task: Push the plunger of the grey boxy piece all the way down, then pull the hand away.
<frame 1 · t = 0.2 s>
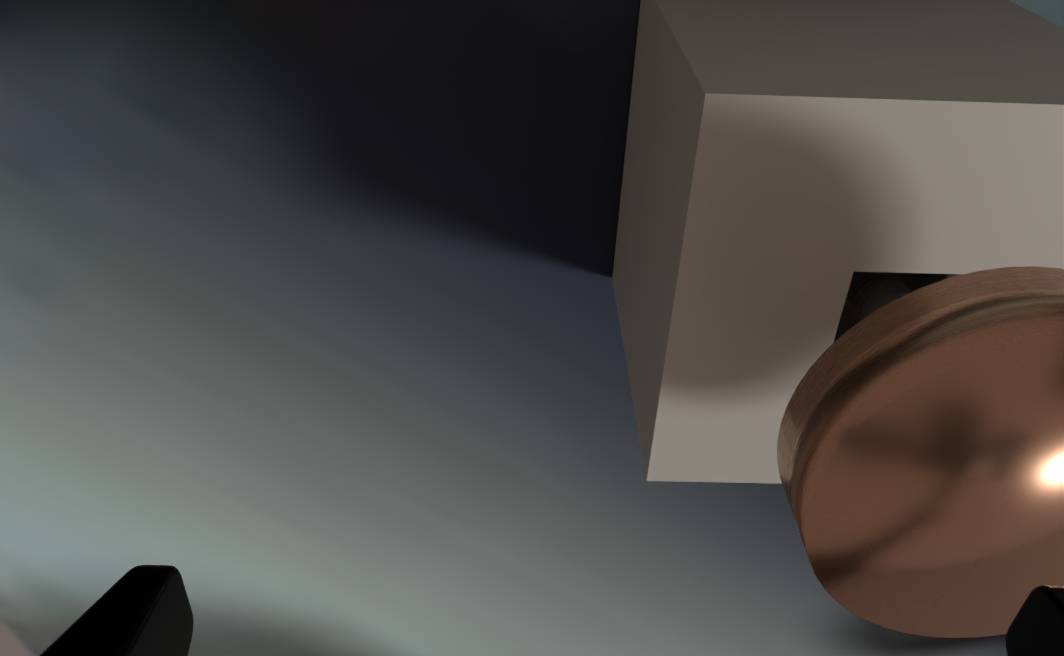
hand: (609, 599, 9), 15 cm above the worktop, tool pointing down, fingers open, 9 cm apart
plunger: (919, 358, 14), point 9 cm above the worktop, slide at 2.6 cm
grey boxy piece: (781, 148, 22), on the worktop
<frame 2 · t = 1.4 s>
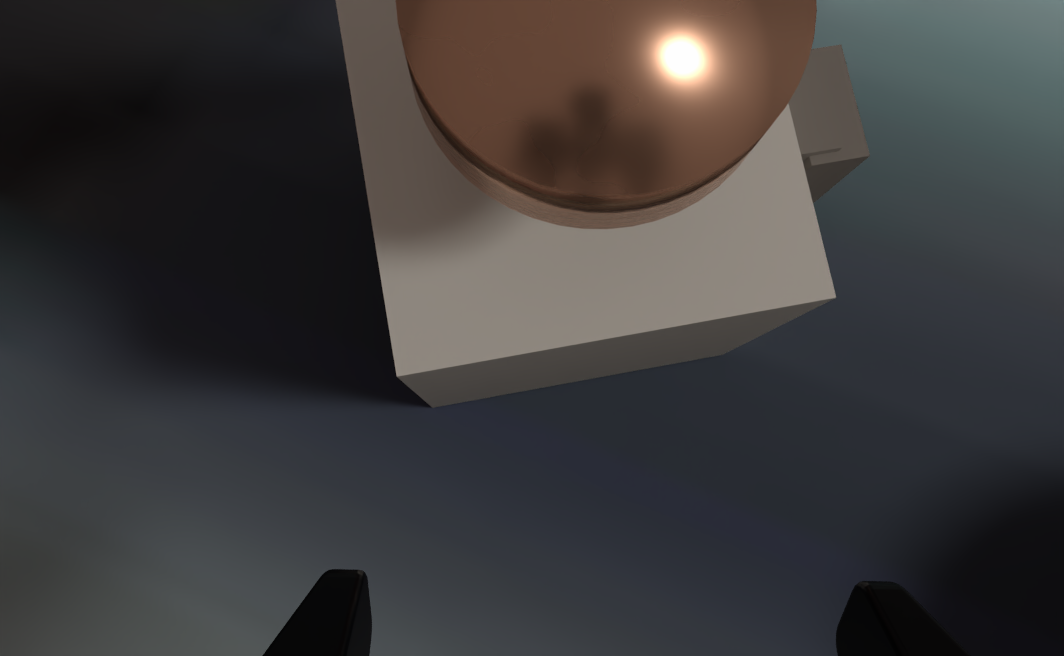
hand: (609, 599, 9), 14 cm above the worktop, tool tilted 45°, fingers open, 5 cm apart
plunger: (582, 100, 15), point 9 cm above the worktop, slide at 2.6 cm
grey boxy piece: (551, 239, 24), on the worktop
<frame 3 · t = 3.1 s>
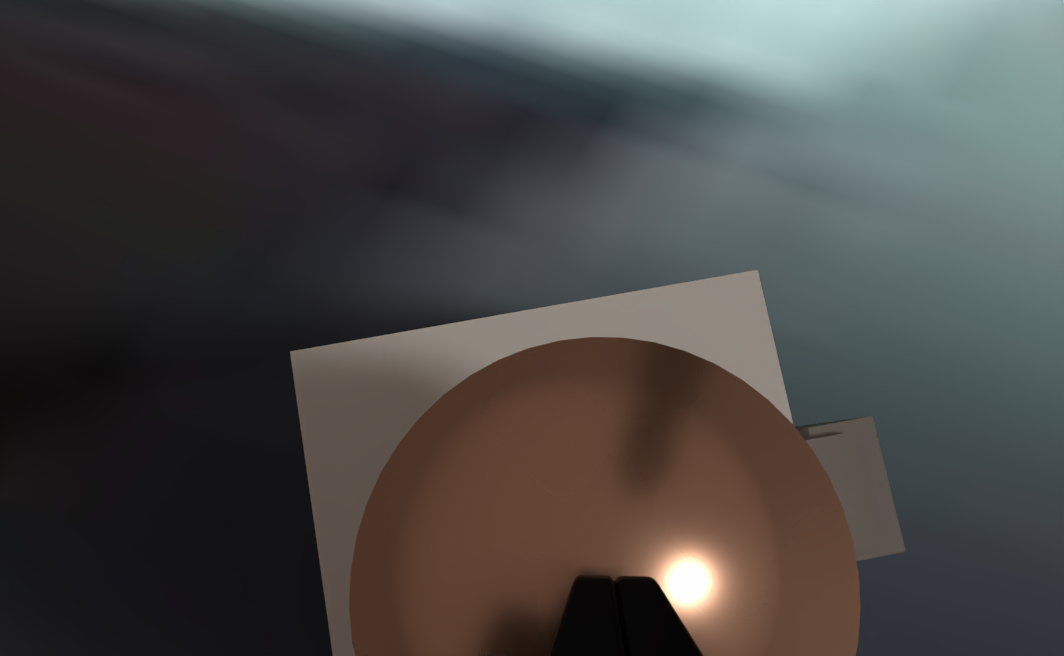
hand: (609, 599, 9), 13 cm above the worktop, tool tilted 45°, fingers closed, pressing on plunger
plunger: (578, 557, 13), point 9 cm above the worktop, slide at 2.5 cm, touching gripper
grey boxy piece: (546, 519, 22), on the worktop
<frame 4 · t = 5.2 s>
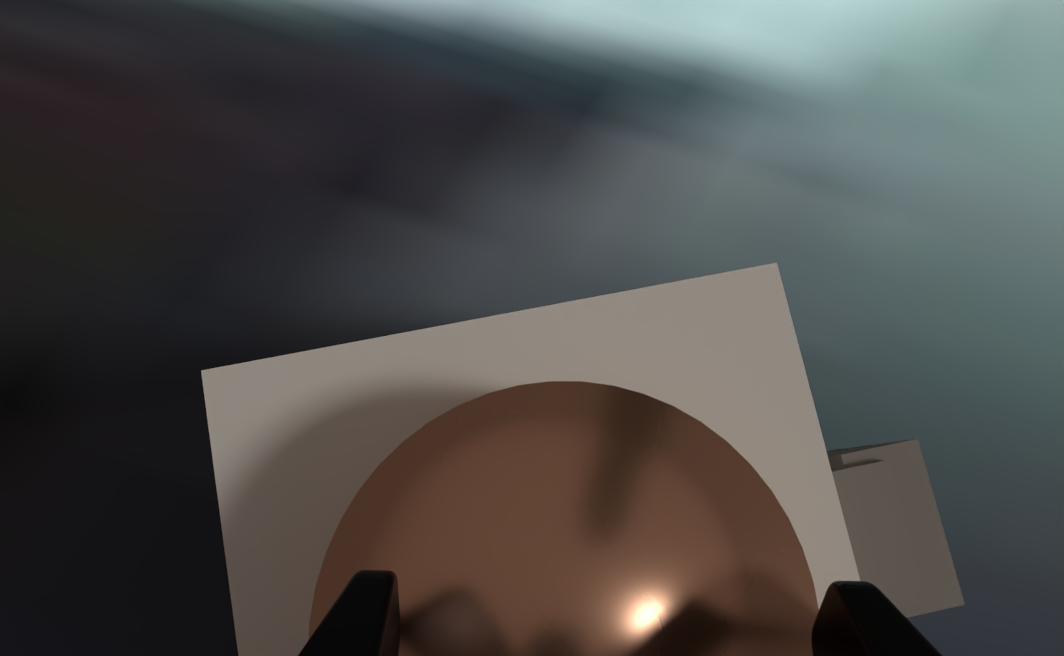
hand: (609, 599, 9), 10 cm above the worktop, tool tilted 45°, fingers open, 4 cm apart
plunger: (547, 598, 13), point 6 cm above the worktop, slide at -0.2 cm, touching gripper
grey boxy piece: (528, 564, 19), on the worktop
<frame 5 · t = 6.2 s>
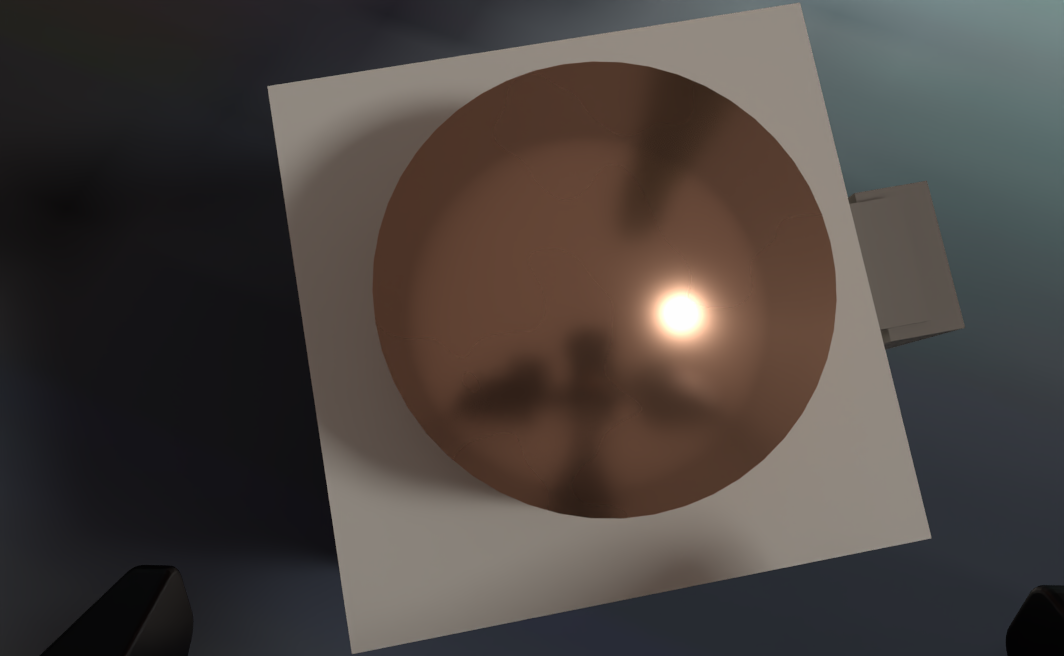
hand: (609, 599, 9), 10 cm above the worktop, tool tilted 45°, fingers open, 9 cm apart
plunger: (580, 323, 14), point 6 cm above the worktop, slide at -0.1 cm
grey boxy piece: (555, 365, 20), on the worktop
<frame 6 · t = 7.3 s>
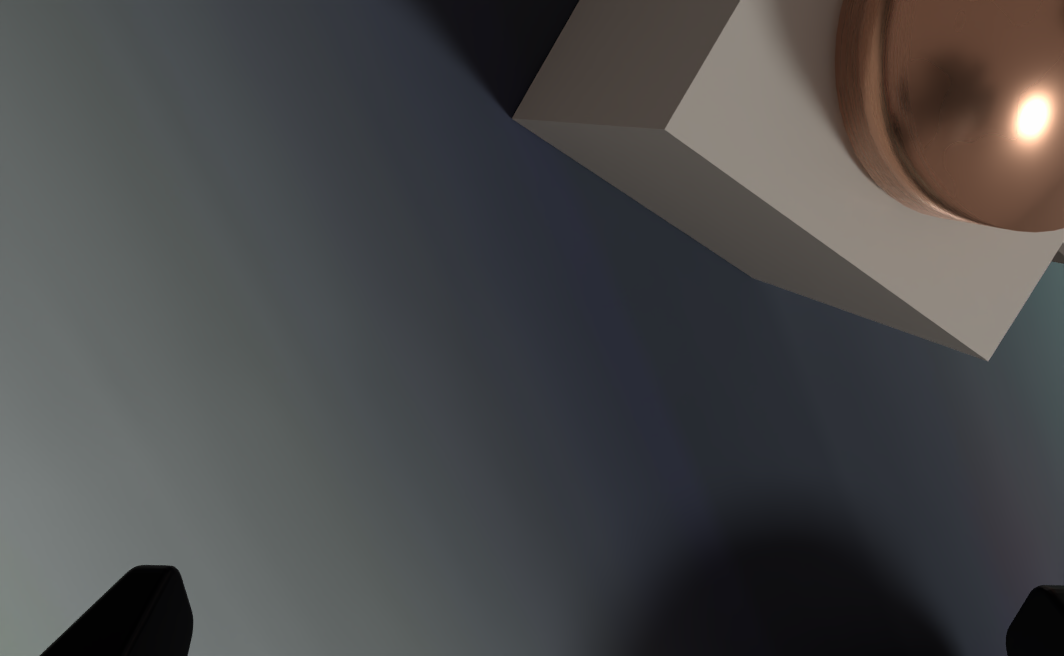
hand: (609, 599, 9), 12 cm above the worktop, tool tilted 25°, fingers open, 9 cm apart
plunger: (903, 51, 15), point 6 cm above the worktop, slide at -0.1 cm
grey boxy piece: (722, 64, 21), on the worktop
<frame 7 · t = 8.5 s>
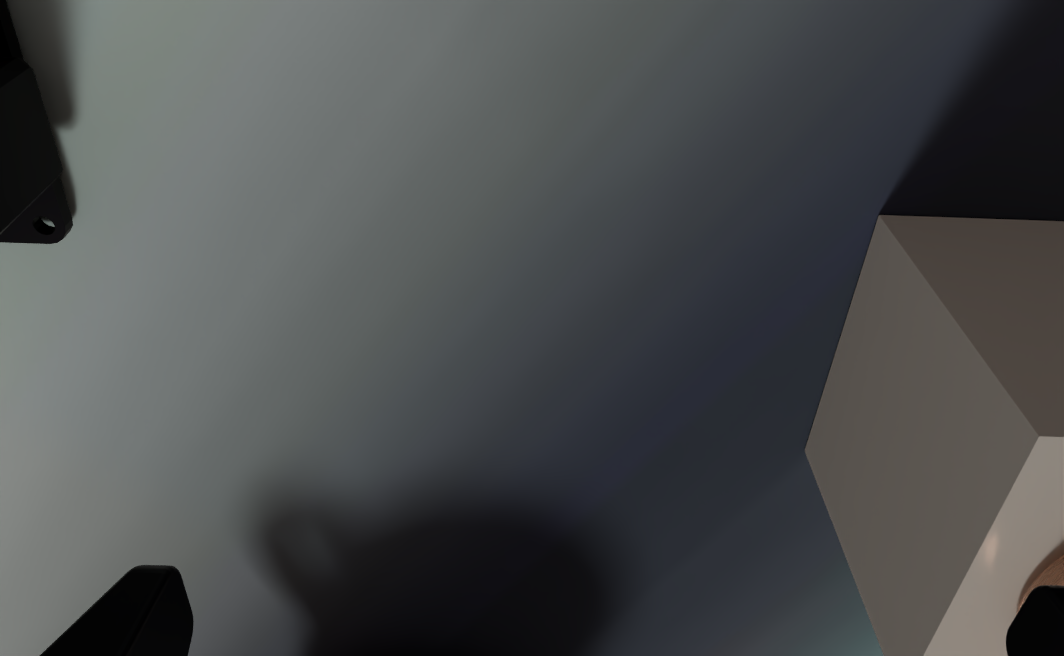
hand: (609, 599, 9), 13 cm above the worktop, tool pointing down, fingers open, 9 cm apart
grey boxy piece: (980, 348, 23), on the worktop
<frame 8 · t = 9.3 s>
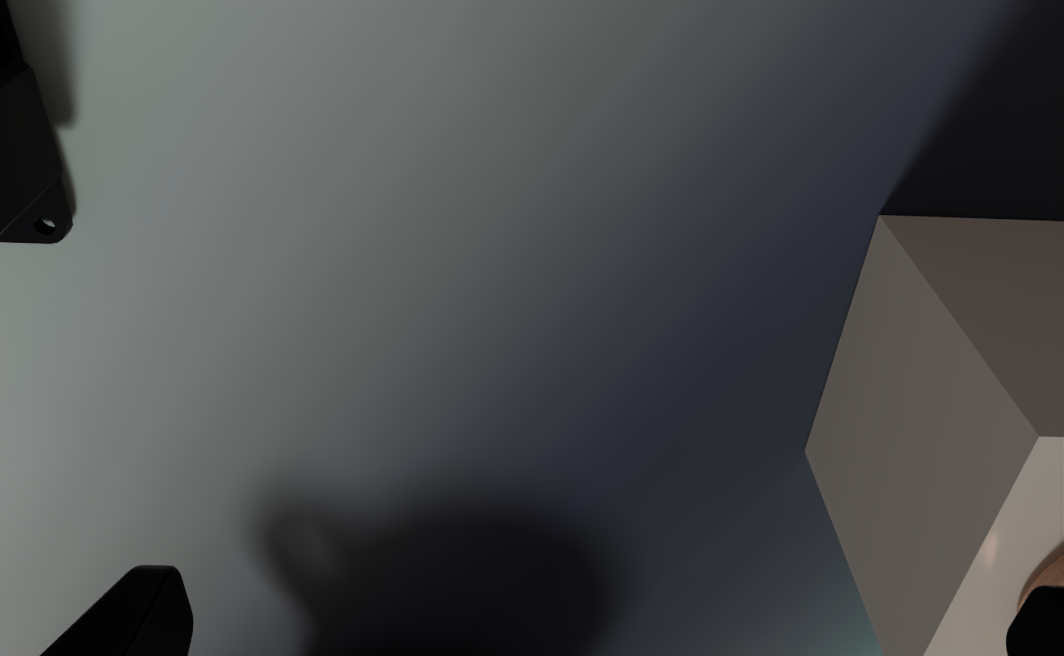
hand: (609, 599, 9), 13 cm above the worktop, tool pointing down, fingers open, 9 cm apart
grey boxy piece: (980, 348, 23), on the worktop
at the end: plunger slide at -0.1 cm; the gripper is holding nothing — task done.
